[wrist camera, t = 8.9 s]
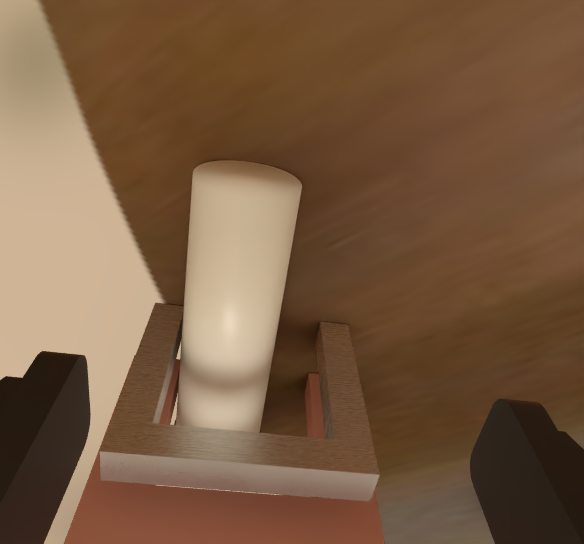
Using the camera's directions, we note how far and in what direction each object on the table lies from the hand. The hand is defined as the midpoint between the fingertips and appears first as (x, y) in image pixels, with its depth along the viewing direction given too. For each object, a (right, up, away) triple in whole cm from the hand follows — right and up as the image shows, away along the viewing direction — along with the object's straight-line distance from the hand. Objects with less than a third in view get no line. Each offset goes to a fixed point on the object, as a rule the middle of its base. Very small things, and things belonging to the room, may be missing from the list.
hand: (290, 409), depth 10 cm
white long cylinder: (-2, 0, +16) cm, 16 cm away
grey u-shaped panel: (-2, 0, +17) cm, 17 cm away
